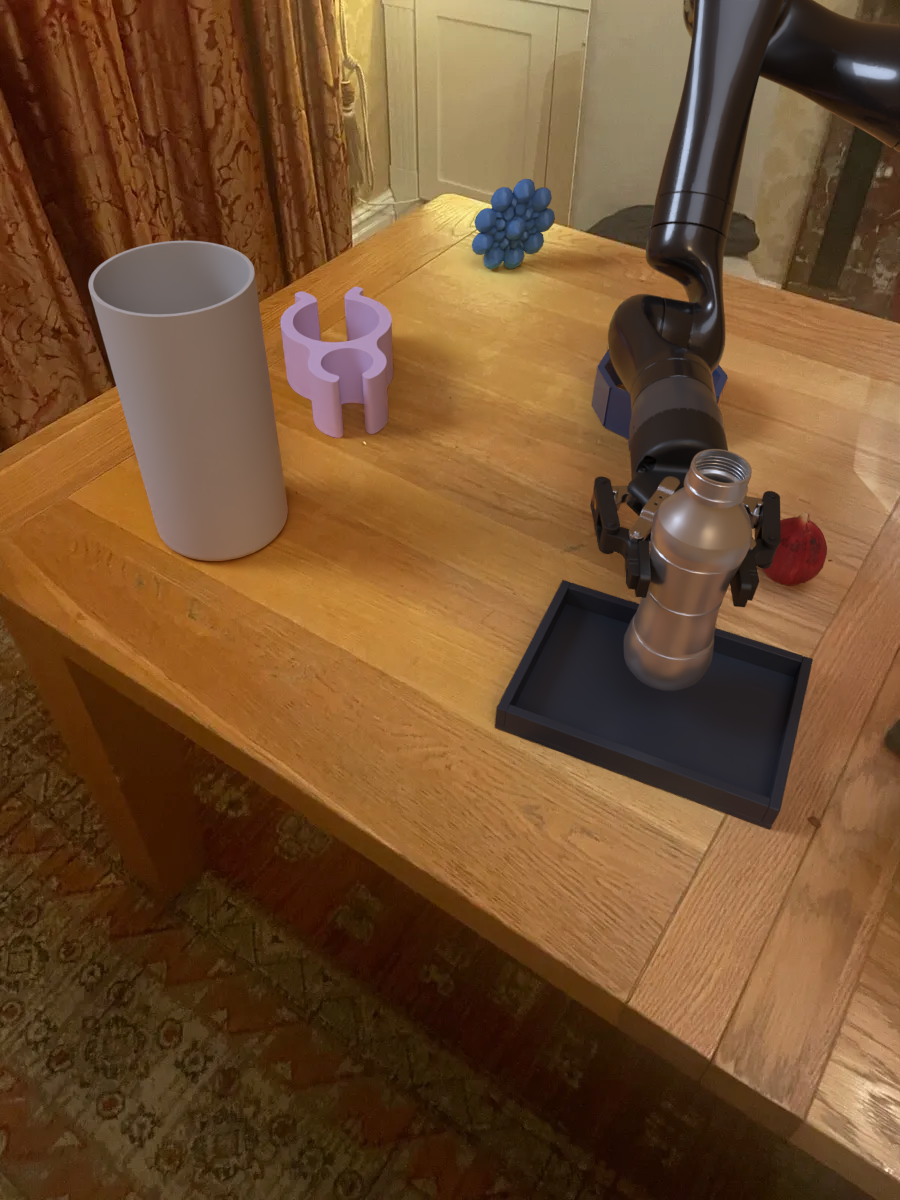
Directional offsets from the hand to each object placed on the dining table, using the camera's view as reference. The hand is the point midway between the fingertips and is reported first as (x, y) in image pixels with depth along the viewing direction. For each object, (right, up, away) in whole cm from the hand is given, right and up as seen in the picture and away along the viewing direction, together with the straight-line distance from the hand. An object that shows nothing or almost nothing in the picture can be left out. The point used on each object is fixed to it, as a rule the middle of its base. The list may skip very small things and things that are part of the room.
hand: (693, 593), depth 61 cm
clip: (-29, +24, +44) cm, 58 cm away
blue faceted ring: (+7, +21, +42) cm, 47 cm away
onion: (+14, +1, +23) cm, 27 cm away
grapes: (-8, +46, +66) cm, 81 cm away
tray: (0, -9, +12) cm, 15 cm away
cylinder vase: (-38, +7, +27) cm, 48 cm away
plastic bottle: (0, -6, +10) cm, 11 cm away
